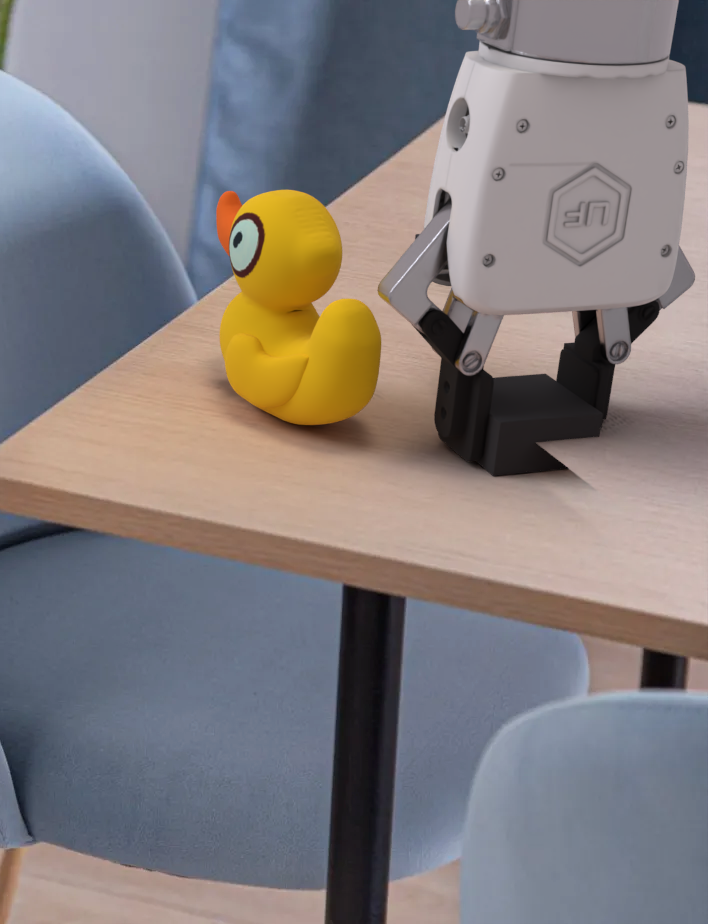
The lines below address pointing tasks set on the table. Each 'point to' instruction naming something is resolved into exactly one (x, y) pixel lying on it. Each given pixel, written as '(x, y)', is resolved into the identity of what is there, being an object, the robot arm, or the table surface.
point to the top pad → (533, 423)
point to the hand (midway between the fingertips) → (517, 440)
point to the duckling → (293, 312)
